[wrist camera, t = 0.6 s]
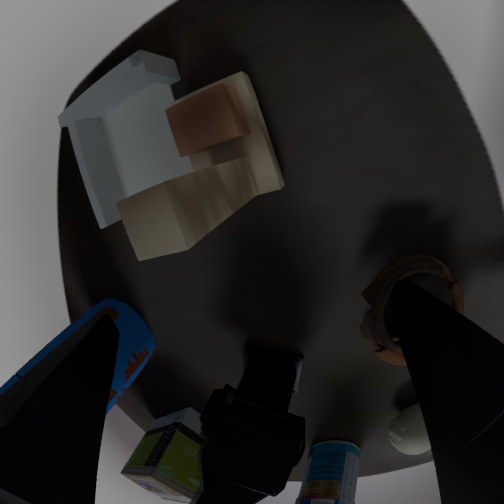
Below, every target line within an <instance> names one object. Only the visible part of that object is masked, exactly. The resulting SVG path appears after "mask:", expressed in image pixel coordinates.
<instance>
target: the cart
mask: <svg viewBox="0 0 504 504" xmlns="http://www.w3.org/2000/svg"><path fill="white" fill-rule="evenodd" d="M171 104H172V106H171V107H169V108H167V109H166V110H165V113H166V116H167V119H168V122H169V125H170V128H171V131H172V134H173V137H174V140H175V143H176V147H177V150H178V153H179V155H180V157H184V156H189V158H190V161H191V164H192V167H193V170H194V172H191V173H188V174H185V175H182V176H179V177H176V178H173V179H170V180H167V181H164V182H162V183H159V184H157V185H154V186H152V187H150V188H147V189H145V190H143V191H141V192H138V193H136V194H134V195H131V196H129V197H127V198H125V199H123V200H121V201H118V202H116V205H117V208H118V211H119V213H120V216H121V219H122V221H123V224H124V226H125V229H126V231H127V234H128V236H129V239H130V241H131V244H132V246H133V248H134V251H135V253H136V256H137V258H138V260H139V261H142V260H146V259H150V258H155V257H159V256H163V255H167V254H172V253H176V252H181V251H185V250H188V249H190V248H191V247H192V246H193V245H194V244H196V243H197V242H198V241H199V240H201V239H202V238H203V237H204V236H206V235H207V234H208V233H209V232H211V231H212V230H213V229H214V228H215V227H217V226H218V225H219V224H220V223H222V222H223V221H224V220H226V219H227V218H228V217H229V216H231V215H232V214H233V213H234V212H236V211H237V210H238V209H239V208H241V207H242V206H243V205H245V204H246V203H247V202H248V201H250V200H251V199H252V198H254V197H255V196H256V195H260V194H264V193H268V192H272V191H275V190H279V189H281V188H282V187H283V186H284V185H285V184H284V181H283V174H282V169H281V166H280V163H279V161H278V159H277V158H276V155H275V152H274V149H273V146H272V143H271V140H270V137H269V134H268V131H267V128H266V125H265V122H264V119H263V116H262V113H261V110H260V107H259V104H258V97H257V94H256V91H255V88H254V86H253V84H252V83H251V81H250V79H249V76H248V75H247V74H245V73H243V72H242V71H241V72H238V73H236V74H233V75H231V76H228V77H226V78H224V79H221V80H219V81H216V82H214V83H212V84H210V85H207V86H205V87H203V88H201V89H199V90H196V91H194V92H192V93H190V94H188V95H186V96H184V97H182V98H180V99H178V100H176V101H174V102H172V103H171Z"/></svg>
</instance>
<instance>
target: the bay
mask: <svg viewBox="0 0 504 504" xmlns="http://www.w3.org/2000/svg"><path fill="white" fill-rule="evenodd" d="M179 80H181V79H180V76H179V73H178V69H177V66H176V63H175V60H173V59H170V58H167V57H164V56H160V55H157V54H154V53H150V52H147V51H143V50H138V51H137V52H135V53H134V54H133V55H131V56H130V57H128V58H127V59H125V60H124V61H123V62H121V63H120V64H119V65H117V66H116V67H115V68H113V69H112V70H111V71H109V72H108V73H107V74H105V75H104V76H103V77H102V78H100V79H99V80H98V81H97V82H96V83H94V84H93V85H92V86H91V87H90V88H89V89H87V90H86V91H85V92H84V93H83V94H82V95H81V96H79V97H78V98H77V99H76V100H75V101H74V102H73V103H72V104H71V105H70V106H69V107H68V108H67V109H65V110H64V111H63V112H62V113H61V114H60V116H58V119H59V124H60V127H67V126H68V129H69V133H70V137H71V141H72V144H73V148H74V152H75V155H76V159H77V162H78V166H79V169H80V172H81V175H82V178H83V182H84V185H85V188H86V191H87V194H88V197H89V199H90V202H91V205H92V208H93V211H94V213H95V216H96V219H97V221H98V224H99V226H100V229H102V228H105V227H107V226H109V225H111V224H113V223H115V222H117V221H119V220H121V216H120V213H119V211H118V208H117V205H116V202H118V201H121V200H123V199H125V198H127V197H129V196H131V195H134V194H136V193H138V192H141V191H143V190H145V189H147V188H150V187H152V186H154V185H157V184H159V183H162V182H164V181H167V180H170V179H173V178H176V177H179V176H182V175H185V174H188V173H191V172H194V170H193V167H192V164H191V161H190V158H189V156H184V157H180V155H179V153H178V150H177V147H176V143H175V140H174V137H173V134H172V131H171V128H170V125H169V122H168V119H167V116H166V113H165V110H166V109H167V108H169V107H171V106H172V104H171V103H172V102H174V101H176V100H175V97H174V94H173V91H172V88H171V85H172V84H174V83H176V82H177V81H179Z"/></svg>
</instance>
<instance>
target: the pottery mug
mask: <svg viewBox="0 0 504 504" xmlns="http://www.w3.org/2000/svg"><path fill="white" fill-rule="evenodd" d="M415 273H429V274H433V275H435V276H437V277H441V278H442V279H443V280H444V281H445V282H446V284H447V286H448V290H449V292H450V294H451V298H452V303H453V309H455V310H456V311H458V312H459V313H461V314H462V315H463V312H464V300H463V294H462V291H461V289H460V286H459V284H458V282H457V281H454V279H453V277H452V276H451V273H450V270H449V269H448V267H446V265H444V264H443V263H442V262H441V261H440V260H438V259H436V258H434V257H433V256H431V255H428V254H415V255H408V256H404V257H401V258H398V259H396V260H393V261H392V263H391V266H386V267H384V268H383V269H382V270H381V271H380V273H379V274H378V275H377V277H376V278H375V280H374V281H373V282H372V283H371V284H370V285H369V286H368V287H367V288H365V289H364V290H363V291H362V293H361V295H362V296H363V297H364V299H365V300H366V302H367V303H368V304H369V305H370V307H371V309H372V311H371V312H370V313H368V314H366V316H365V317H364V319H363V324H362V325H361V326H360V330H361V334H362V336H363V337H364V338H366V339H367V341H368V342H369V343H370V344H371V345H372V346H373V347H375V348H376V349H377V350H376V351H375V352H374V353H375V355H376V356H377V357H378V358H380V359H381V360H383V361H385V362H387V363H390V364H394V365H399V366H407V365H406V362H405V359H404V356H403V353H402V350H401V346H400V342H399V341H394V340H393V339H392V338H391V337H390V335H389V334H388V332H387V329H386V326H385V322H384V306H385V302H386V299H387V297H388V295H389V293H390V291H391V290H392V288H393V285H394V282H395V281H397V280H402V279H403V278H405V277H406V276H409V275H412V274H415Z"/></svg>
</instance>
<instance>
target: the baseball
mask: <svg viewBox="0 0 504 504" xmlns="http://www.w3.org/2000/svg"><path fill="white" fill-rule="evenodd" d="M389 439H390V442H391V443H392V444H393V445H394V446H395V448H396V449H397V450H398V451H400V452H402V453H404V454H408V455H416V454H421V453H424V452H426V451H428V450H430V449H431V446H430V442H429V438H428V434H427V430H426V426H425V422H424V419H423V415H422V412H421V408H420V405H419V403H416V404H413V405H411V406H409V407H407V408H405V409H404V410H403V411H402V412H401V413H400V414H399V415H398V416H397V417H396V418H394V419H393V420H392V421H391V423H390V425H389Z"/></svg>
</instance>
